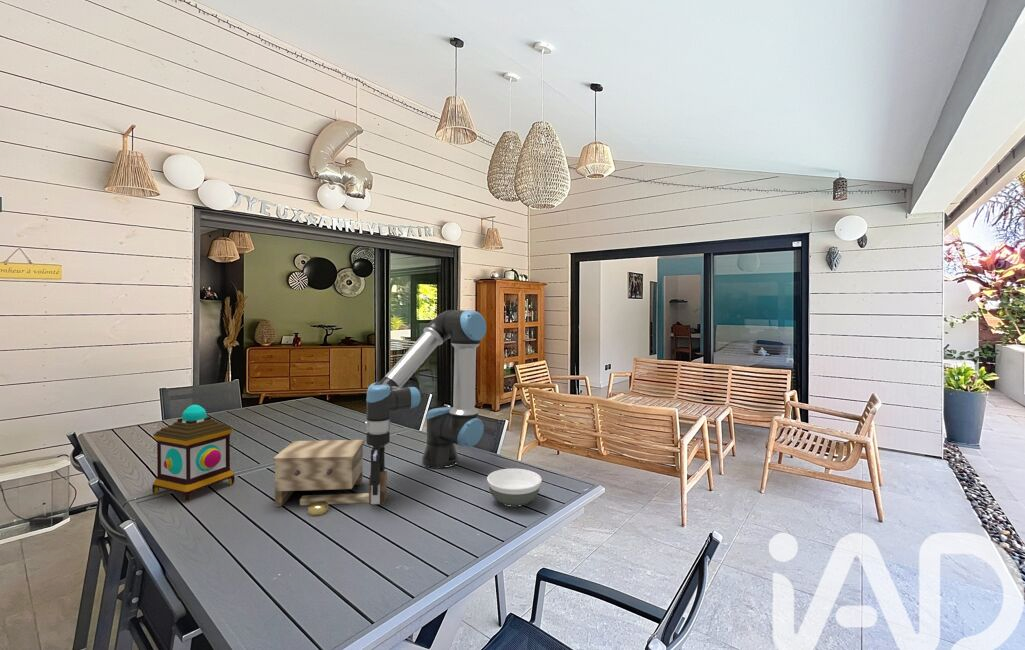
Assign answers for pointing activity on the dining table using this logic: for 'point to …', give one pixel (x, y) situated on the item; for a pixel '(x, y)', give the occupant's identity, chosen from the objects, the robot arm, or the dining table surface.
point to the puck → (317, 508)
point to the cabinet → (317, 467)
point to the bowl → (514, 486)
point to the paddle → (349, 495)
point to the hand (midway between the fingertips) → (377, 498)
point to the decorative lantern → (192, 453)
